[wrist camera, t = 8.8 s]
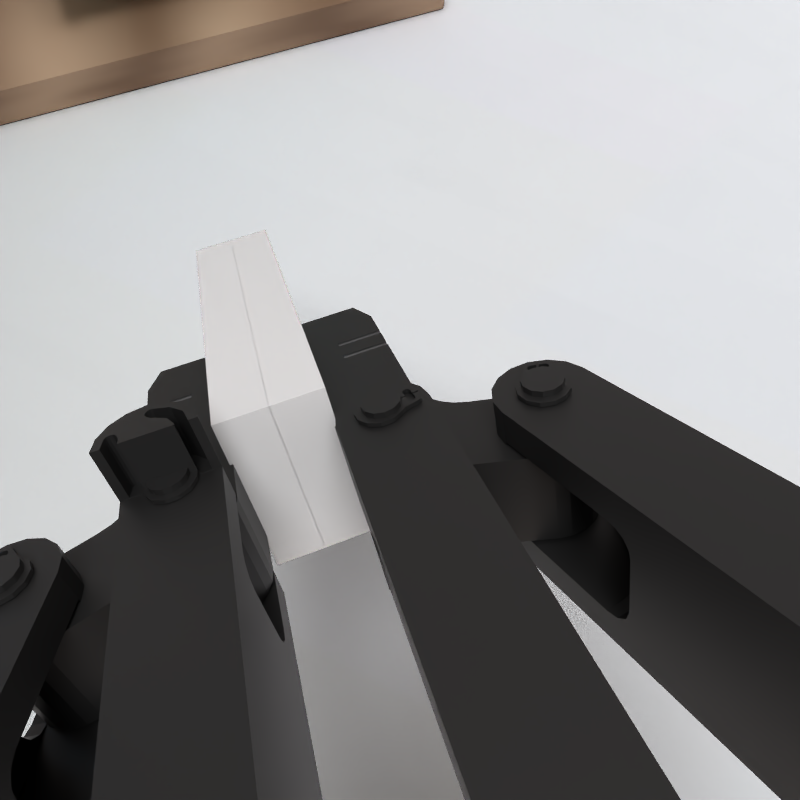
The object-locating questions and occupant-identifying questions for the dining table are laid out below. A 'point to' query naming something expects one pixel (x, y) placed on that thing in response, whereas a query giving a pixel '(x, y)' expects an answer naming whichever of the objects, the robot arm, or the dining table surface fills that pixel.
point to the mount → (156, 41)
